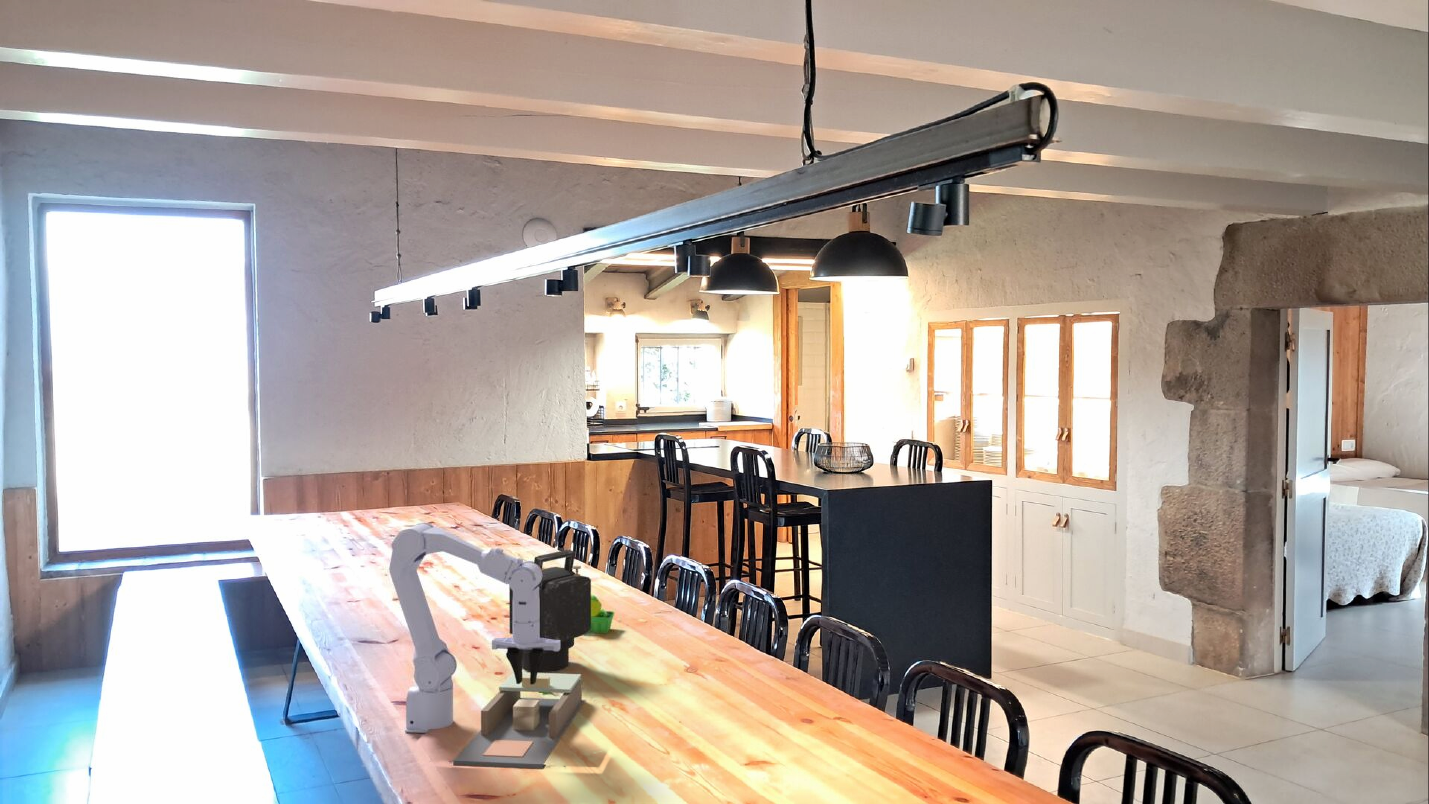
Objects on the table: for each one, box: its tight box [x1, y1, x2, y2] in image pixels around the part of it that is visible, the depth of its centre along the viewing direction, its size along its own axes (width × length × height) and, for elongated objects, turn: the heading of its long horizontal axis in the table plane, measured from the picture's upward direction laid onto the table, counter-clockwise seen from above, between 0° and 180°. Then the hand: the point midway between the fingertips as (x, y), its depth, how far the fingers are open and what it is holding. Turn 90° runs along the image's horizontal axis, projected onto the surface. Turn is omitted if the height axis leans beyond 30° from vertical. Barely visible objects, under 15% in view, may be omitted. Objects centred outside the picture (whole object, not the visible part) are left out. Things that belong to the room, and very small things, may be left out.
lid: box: [498, 671, 582, 694], centre depth 229 cm, size 16×11×3 cm
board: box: [452, 677, 586, 770], centre depth 216 cm, size 18×38×6 cm, turn 175°
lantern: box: [508, 549, 592, 673], centre depth 263 cm, size 15×18×30 cm
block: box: [513, 699, 539, 730], centre depth 217 cm, size 4×4×5 cm
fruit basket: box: [587, 594, 615, 634], centre depth 299 cm, size 11×9×11 cm
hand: (526, 682), depth 217 cm, fingers open, 2 cm apart
